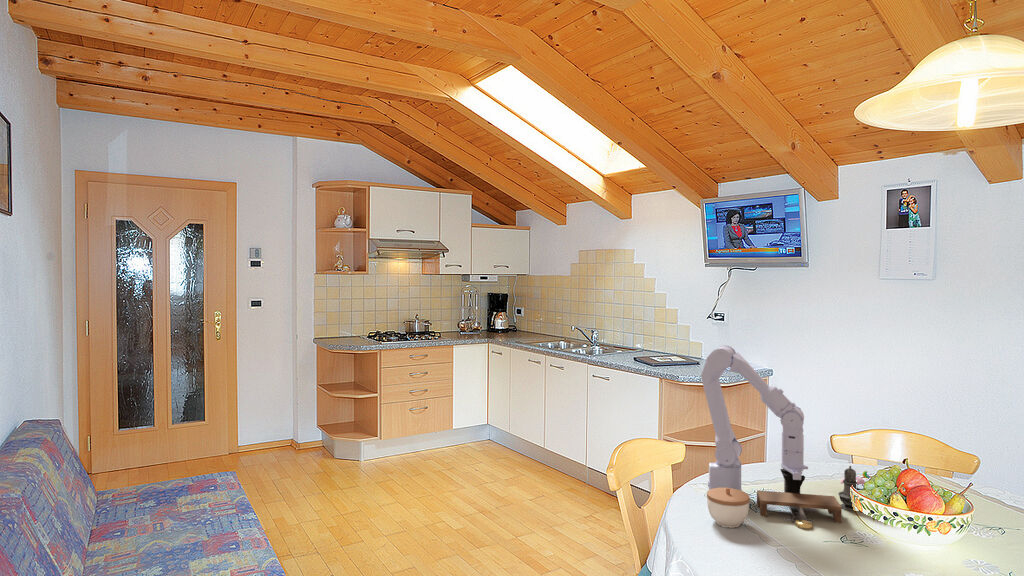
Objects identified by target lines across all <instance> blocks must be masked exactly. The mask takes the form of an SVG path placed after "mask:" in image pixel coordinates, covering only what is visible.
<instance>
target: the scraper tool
mask: <svg viewBox="0 0 1024 576" xmlns="http://www.w3.org/2000/svg"><path fill="white" fill-rule="evenodd" d="M783 492H786V493H788V489H787V484H786V480H785V478H784V477H783ZM799 494H801V490H800V491H799ZM787 507H788V509H789V511H790V513H791V515H793V516H792V517H791V518H790V522H791V521H792V522H791V523H793V524H796V520H807V521H810V522H811V523H812V524H813V520H812V519H809V518H807V516H806V514H805V512H804V510H803V507H791V506H787ZM793 517H794V518H793Z"/></svg>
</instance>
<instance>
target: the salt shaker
mask: <svg viewBox="0 0 1024 576" xmlns="http://www.w3.org/2000/svg"><path fill="white" fill-rule="evenodd" d="M856 477H857V472H856V470H855V469H853V468H852V466H851V465H849V466H848V468H846V469H845V470H844V477H843V479H844V480H843V482H844V483H843V490H842V491H839V492H838V494H837V495H838V496H839V499H840V501H841V503H840V505H841V507H842V510H844V511H848V512H854V510H853V507H852V502H851V497H850V487H851V485H853V487H854V488H855V489H856V484H857V482H856ZM856 490H857V489H856Z"/></svg>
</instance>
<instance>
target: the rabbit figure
mask: <svg viewBox="0 0 1024 576" xmlns="http://www.w3.org/2000/svg"><path fill="white" fill-rule="evenodd" d="M861 475H862V477H863V478H865V479H866V480H868V479H869V478H871V476H870V475H868V471H867V470H865V471H863V472H862V473H861ZM863 478H861V477H860V476H856V480H857V485H859V484H862V486H863V484H864V483H865V482H866V480H864V479H863ZM843 480H844V478H842V479H841V480H840V484H844V482H843Z"/></svg>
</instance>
